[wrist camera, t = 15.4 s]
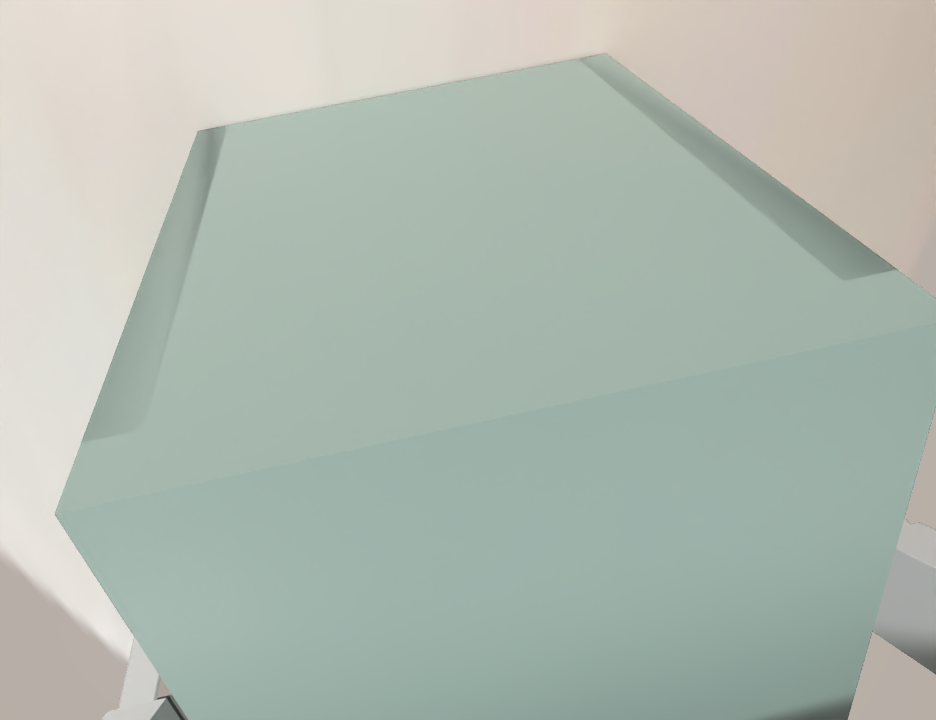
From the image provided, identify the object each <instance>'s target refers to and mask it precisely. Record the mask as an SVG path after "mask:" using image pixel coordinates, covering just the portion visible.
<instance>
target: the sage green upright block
mask: <svg viewBox="0 0 936 720" xmlns="http://www.w3.org/2000/svg"><path fill="white" fill-rule="evenodd" d="M935 408H936V298H935V297H934V296H932V295H931V294H929V293H928V292H927V291H926V290H924V289H923V288H922V287H920V286H919V285H917V284H916V283H915V282H914V281H912V280H911V279H909V278H908V277H907V276H905V275H904V274H903V273H901V272H900V271H899V270H897V269H896V268H895V267H893V266H892V265H891V264H889V263H888V262H887V261H885V260H884V259H883V258H881V257H880V256H878V255H877V254H876V253H874V252H873V251H872V250H870V249H869V248H868V247H866V246H865V245H864V244H862V243H861V242H860V241H858V240H857V239H856V238H854V237H853V236H852V235H850V234H849V233H848V232H846V231H845V230H843V229H842V228H841V227H839V226H838V225H837V224H835V223H834V222H833V221H831V220H830V219H829V218H827V217H826V216H825V215H823V214H822V213H821V212H819V211H818V210H817V209H815V208H814V207H812V206H811V205H810V204H808V203H807V202H806V201H804V200H803V199H802V198H800V197H799V196H798V195H796V194H795V193H794V192H792V191H791V190H790V189H788V188H787V187H786V186H784V185H783V184H782V183H780V182H779V181H777V180H776V179H775V178H773V177H772V176H771V175H769V174H768V173H767V172H765V171H764V170H763V169H761V168H760V167H759V166H757V165H756V164H755V163H753V162H752V161H751V160H749V159H748V158H746V157H745V156H744V155H742V154H741V153H740V152H738V151H737V150H736V149H734V148H733V147H732V146H730V145H729V144H728V143H726V142H725V141H724V140H722V139H721V138H720V137H718V136H717V135H716V134H714V133H713V132H711V131H710V130H709V129H707V128H706V127H705V126H703V125H702V124H701V123H699V122H698V121H697V120H695V119H694V118H693V117H691V116H690V115H689V114H687V113H686V112H685V111H683V110H682V109H680V108H679V107H678V106H676V105H675V104H674V103H672V102H671V101H670V100H668V99H667V98H666V97H664V96H663V95H662V94H660V93H659V92H658V91H656V90H655V89H654V88H652V87H651V86H650V85H648V84H647V83H645V82H644V81H643V80H641V79H640V78H639V77H637V76H636V75H635V74H633V73H632V72H631V71H629V70H628V69H627V68H625V67H624V66H623V65H621V64H620V63H619V62H617V61H616V60H614V59H613V58H612V57H610V56H609V55H608V54H600V55H595V56H590V57H585V58H579V59H574V60H569V61H564V62H558V63H553V64H548V65H542V66H537V67H532V68H527V69H521V70H516V71H511V72H506V73H500V74H495V75H490V76H485V77H479V78H474V79H469V80H464V81H458V82H453V83H448V84H443V85H437V86H432V87H427V88H422V89H416V90H411V91H406V92H400V93H395V94H390V95H385V96H379V97H374V98H369V99H364V100H358V101H353V102H348V103H343V104H337V105H332V106H327V107H322V108H316V109H311V110H306V111H301V112H295V113H290V114H285V115H279V116H274V117H269V118H264V119H258V120H253V121H248V122H243V123H237V124H232V125H227V126H222V127H216V128H211V129H206V130H201V131H198V132H197V135H196V137H195V140H194V143H193V145H192V148H191V151H190V153H189V156H188V159H187V161H186V164H185V167H184V169H183V172H182V175H181V177H180V180H179V183H178V185H177V188H176V191H175V194H174V196H173V199H172V202H171V204H170V207H169V210H168V212H167V215H166V218H165V220H164V223H163V226H162V228H161V231H160V234H159V236H158V239H157V242H156V244H155V247H154V250H153V252H152V255H151V258H150V260H149V263H148V266H147V268H146V271H145V274H144V276H143V279H142V282H141V284H140V287H139V290H138V292H137V295H136V298H135V300H134V303H133V306H132V308H131V311H130V314H129V317H128V319H127V322H126V325H125V327H124V330H123V333H122V335H121V338H120V341H119V343H118V346H117V349H116V351H115V354H114V357H113V359H112V362H111V365H110V367H109V370H108V373H107V375H106V378H105V381H104V383H103V386H102V389H101V391H100V394H99V397H98V399H97V402H96V405H95V407H94V410H93V413H92V415H91V418H90V421H89V423H88V426H87V429H86V431H85V434H84V437H83V440H82V442H81V445H80V448H79V450H78V453H77V456H76V458H75V461H74V464H73V466H72V469H71V472H70V474H69V477H68V480H67V482H66V485H65V488H64V490H63V493H62V496H61V498H60V501H59V504H58V506H57V509H56V512H55V516H56V517H57V519H58V520H59V522H60V523H61V525H62V526H63V528H64V529H65V531H66V533H67V534H68V536H69V537H70V539H71V540H72V542H73V543H74V545H75V546H76V548H77V549H78V551H79V553H80V554H81V556H82V557H83V559H84V560H85V562H86V563H87V565H88V566H89V568H90V569H91V571H92V573H93V574H94V576H95V577H96V579H97V580H98V582H99V583H100V585H101V586H102V588H103V589H104V591H105V593H106V594H107V596H108V597H109V599H110V600H111V602H112V603H113V605H114V606H115V608H116V609H117V611H118V612H119V614H120V616H121V617H122V619H123V620H124V622H125V623H126V625H127V626H128V628H129V629H130V631H131V632H132V634H133V636H134V637H135V639H136V640H137V642H138V643H139V645H140V646H141V648H142V649H143V651H144V652H145V654H146V656H147V657H148V659H149V660H150V662H151V663H152V665H153V666H154V668H155V669H156V671H157V672H158V674H159V676H160V677H161V679H162V680H163V682H164V683H165V685H166V686H167V688H168V689H169V691H170V692H171V694H172V695H173V697H174V699H175V700H176V702H177V703H178V705H179V706H180V708H181V709H182V711H183V712H184V714H185V715H186V717H187V719H188V720H847V719H848V716H849V712H850V709H851V705H852V702H853V698H854V695H855V691H856V688H857V684H858V680H859V677H860V673H861V670H862V666H863V663H864V659H865V655H866V652H867V649H868V645H869V641H870V638H871V635H872V631H873V627H874V624H875V620H876V617H877V613H878V610H879V606H880V603H881V599H882V596H883V592H884V589H885V585H886V582H887V578H888V574H889V571H890V567H891V564H892V560H893V557H894V553H895V550H896V546H897V543H898V539H899V536H900V532H901V529H902V525H903V522H904V518H905V514H906V511H907V507H908V504H909V500H910V497H911V493H912V490H913V486H914V482H915V479H916V476H917V472H918V468H919V465H920V461H921V458H922V454H923V451H924V447H925V444H926V440H927V436H928V433H929V430H930V426H931V423H932V419H933V415H934V412H935Z"/></svg>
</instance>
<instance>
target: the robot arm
mask: <svg viewBox="0 0 936 720" xmlns="http://www.w3.org/2000/svg"><path fill="white" fill-rule="evenodd" d="M873 632H874V633H876V634H877V635H879V636H881V637H882V638H883V639H885V640H886V641H888V642H889V643H891V644H892V645H894V646H895V647H897V648H898V649H900V650H901V651H902V652H904V653H905V654H907V655H908V656H910V657H911V658H913V659H914V660H916V661H917V662H919V663H920V664H922V665H923V666H924V667H926V668H927V669H929V670H930V671H932V672H933V673H935V674H936V529H933V528H931V527H929V526H927V525H924V524H922V523H920V522H919V523H914V524H910V523H909V522H908V521H907V519H905V518H904V522H903V525H902V529H901V532H900V536H899V539H898V543H897V546H896V550H895V553H894V557H893V560H892V564H891V567H890V571H889V574H888V578H887V582H886V585H885V589H884V592H883V596H882V599H881V603H880V606H879V610H878V613H877V617H876V620H875V624H874V627H873ZM101 720H188V719H187V717H186V715H185V714H184V712H183V711H182V709H181V708H180V706H179V705H178V703H177V702H176V700H175V699H174V697H173V695H172V694H171V692H170V691H169V689H168V688H167V686H166V685H165V683H164V682H163V680H162V679H161V677H160V676H159V674H158V672H157V671H156V669H155V668H154V666H153V665H152V663H151V662H150V660H149V659H148V657H147V656H146V654H145V652H144V651H143V649H142V648H141V646H140V645H139V643H138V642H137V640H136V639H135V637H134V639H133V644H132V649H131V653H130V658H129V662H128V667H127V672H126V676H125V680H124V685H123V689H122V694H121V698H120V703H119V707H118V709H115V710H111V711H108V712H107V714H106V715H105V716H104V717H103V718H102V719H101Z"/></svg>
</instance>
